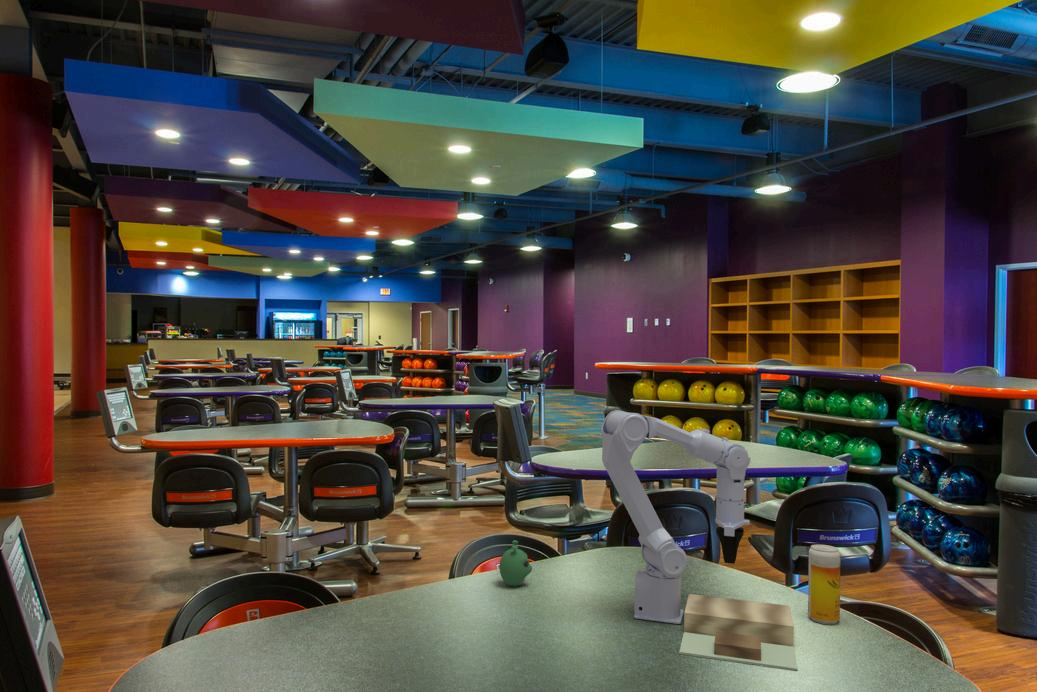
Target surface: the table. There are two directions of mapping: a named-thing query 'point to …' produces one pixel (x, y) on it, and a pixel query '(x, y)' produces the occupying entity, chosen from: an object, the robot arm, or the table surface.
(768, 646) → the sage mat
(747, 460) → the robot arm
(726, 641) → the walnut tile
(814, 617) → the beer can
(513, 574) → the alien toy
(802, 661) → the table surface
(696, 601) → the birch deck
